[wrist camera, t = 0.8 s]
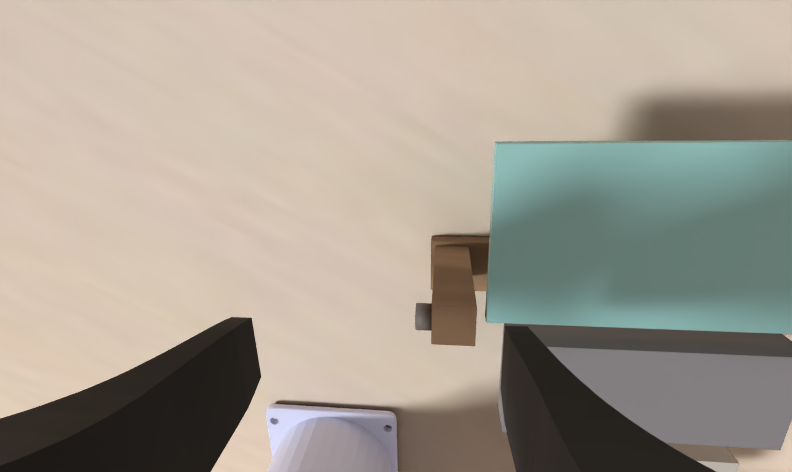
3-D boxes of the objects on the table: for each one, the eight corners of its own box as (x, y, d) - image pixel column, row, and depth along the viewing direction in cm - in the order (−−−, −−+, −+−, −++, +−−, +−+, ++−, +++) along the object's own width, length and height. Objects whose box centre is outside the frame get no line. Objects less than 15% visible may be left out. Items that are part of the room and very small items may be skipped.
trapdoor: (774, 421, 17) (804, 451, 16) (478, 404, 18) (481, 431, 17) (875, 136, 13) (924, 143, 12) (493, 139, 15) (498, 146, 13)
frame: (770, 292, 21) (911, 385, 15) (423, 282, 23) (415, 361, 16) (785, 242, 20) (943, 318, 14) (424, 236, 22) (415, 300, 15)
